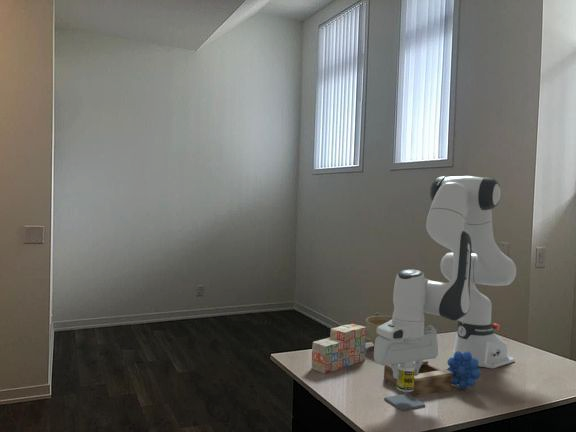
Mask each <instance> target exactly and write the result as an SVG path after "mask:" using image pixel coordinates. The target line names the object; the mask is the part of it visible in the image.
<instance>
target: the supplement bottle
mask: <svg viewBox="0 0 576 432" xmlns="http://www.w3.org/2000/svg"><path fill="white" fill-rule="evenodd" d="M413 366H414V361H411V362H405V363H399V367H398V368H397V369H398V371H399V372H401V378H398V379H397V387H396V389H397V390H398V391H400V392H404V393H405V392H411V391H413V390H414V374H415V368H414V367H413Z"/></svg>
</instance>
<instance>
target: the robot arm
mask: <svg viewBox="0 0 576 432" xmlns="http://www.w3.org/2000/svg"><path fill="white" fill-rule="evenodd" d="M501 194H502V193H501V186H500V184H499V182H498V181H497V180H496V179H495V178H492V177H488V176H487V177H486V176H484V177H481V176H473V175H456V176H455V175H454V176H448V175H443V176H438V177H436V179H434V180H433V181H432V184H431V185H430V192H429V195H430V199H431V204H430V208H429V211H428V214H427V218H426V222H425V227H426V231H427V234H428V235H429V237H430V238H431V239H432V240H434V241H435V242H436V243H437V244H439V245H440V246H443V248H446V249H448V250H450V252H446V253H445V255H443V257H442V258H441V261H440V265H439V267H440V272H441V274H442V275H443V277H444V278H445V279H446V280H448V282H445V281H444V282H443V281H436V280H432V279H429V278H426V277H425V273H424V272H423V271H421V270H417V269H411V268H410V269H402V270H401V271H399V272H397V274H396V276H395V281H394V286H393V296H392V302H393V312H392V320H390V321H388V322H386V323H384V324H382V325H380V326H378V327H377V334H379V336H378V337H377V338H376V340H375V346H374V345H373V347H374V349H373V359H374V361H375V362H376V363H377V364H378V365H380V366H385V365H390V366H391V368H392V370H393V377H394V378H395V379H398V378H401V372H399V371H398V369H397V367H399V363H405V362H411V361H414V362H415V364H414V366H413V367H414V368H415V374H414V376H417V375H418V374H419V369H420V367H421V365H422V361H423V360H432V359H436V358H437V356H438V355H439V347H438V346H439V344H438V337H437V333H438V332H437V329H436V328H435V327H434V326H433V325H428V326H427V325H425V314H429V315H434V316H437V317H438V316H439V317H442V318H445V319H447V320H450V321H456V335H455V340H454V345H453V347H454V348H453V349H452V352H451V353H452V354H451V357H453V358H454V353H455V352H457V351H459V352H461V353H462V354H463V353H464V352H470V353H471V355H472V358H476V359H477V360H478V361H479V365H478V367H482V368H487V369H496V368H498V367H501V366H502V367H503V366H505V365H508V364H510V363H511V364H512V363H513V362H515V357H513V356H511V355H509V354H508V345H507V344H506V342H505V341H503V339H502V338H500V337H499V336H498V335H497V334H496V333H495V330H497V331H498V330H499V329H500V327H501V325H500V324H499V323H495V322H493V323H492V308H493V307H492V305H493V304H492V301H491V300H490V298H489V297H488V296H486V295H485V294H483V293H481V292H480V291H479V290H478V288H477V287H476V284H477V285H485V286H491V287H493V286H494V287H498V286H499V287H500V286H503V287H504V286H509V285H511V284H512V283H513V282H514V280H515V278H516V276H517V266H516V264H515V261H513V259H512V258H510V257H508V256H507V255H506V253H503V251H502V250H501V249H500V248H499V246H498V245H497V243H496V240H495V237H494V230H493V213H492V210H493V209H494V208H496V207H497V206H498V204H499V201H500V199H501ZM451 251H452V252H451ZM472 251H473V252H472ZM494 329H495V330H494ZM472 358H471V359H472Z"/></svg>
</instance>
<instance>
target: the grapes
mask: <svg viewBox="0 0 576 432" xmlns="http://www.w3.org/2000/svg"><path fill="white" fill-rule="evenodd" d="M471 358H472V355H471V353H470V352H464V353H463V354H462V353H461V352H459V351H457V352H455V353H454V358H453V357H452V356H451V357H449V358H448V359H447V362H446V363H447V366H448V367H447V368H446V370H448V371H450V372H452V373H453V376H452V386H458V387H459V389H461V390H466V389H467V388H468V387H470V388H473V387H474V386H476V385H477V379H478V378H479V377H481V375H482V372H481V369H479V368H478V367H479V366H478V365H479V361H478V360H477V359H476V358H472V359H471Z"/></svg>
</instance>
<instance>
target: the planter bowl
mask: <svg viewBox="0 0 576 432" xmlns="http://www.w3.org/2000/svg"><path fill="white" fill-rule="evenodd" d="M390 320H392V316H391V315H390V316H389V315H375V316H369V317H367V318H366V319H365V322H366V333H367V336H368V338H369V340H370V342H371V343H372V344H373V347H374V346H375V340H376V338H377V337H378V336H379V334H377V327H378V326H380V325H382V324H384V323H386V322H388V321H390Z"/></svg>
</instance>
